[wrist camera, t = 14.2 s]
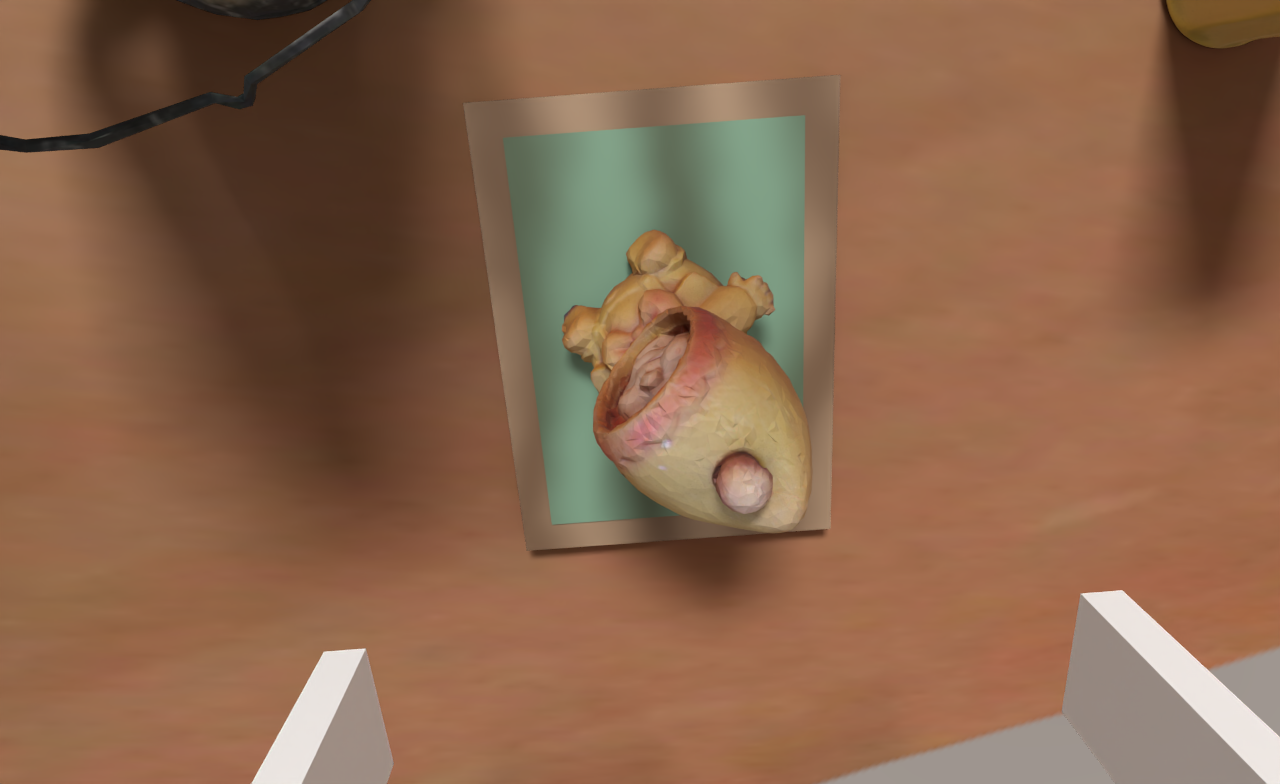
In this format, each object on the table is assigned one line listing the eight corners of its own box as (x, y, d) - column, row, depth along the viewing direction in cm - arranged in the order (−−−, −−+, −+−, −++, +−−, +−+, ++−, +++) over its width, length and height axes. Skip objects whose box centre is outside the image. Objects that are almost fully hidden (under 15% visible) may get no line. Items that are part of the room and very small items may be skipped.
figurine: (660, 185, 33) (786, 319, 20) (772, 282, 36) (940, 449, 23) (523, 351, 35) (557, 565, 22) (640, 427, 38) (726, 650, 26)
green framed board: (529, 538, 40) (526, 551, 39) (468, 103, 33) (462, 102, 31) (824, 517, 40) (831, 529, 39) (832, 76, 32) (841, 74, 31)
